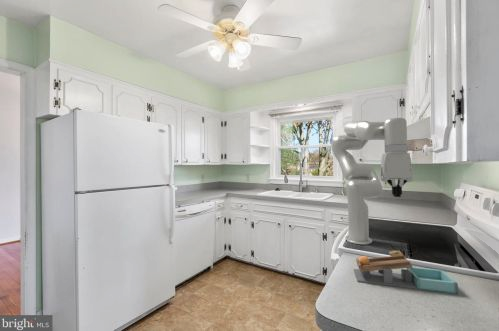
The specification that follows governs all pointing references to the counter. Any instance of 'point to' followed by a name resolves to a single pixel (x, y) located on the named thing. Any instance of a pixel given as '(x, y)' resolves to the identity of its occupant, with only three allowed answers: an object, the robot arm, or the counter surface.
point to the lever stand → (386, 278)
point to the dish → (433, 280)
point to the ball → (364, 260)
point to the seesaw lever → (385, 262)
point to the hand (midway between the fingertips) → (396, 196)
